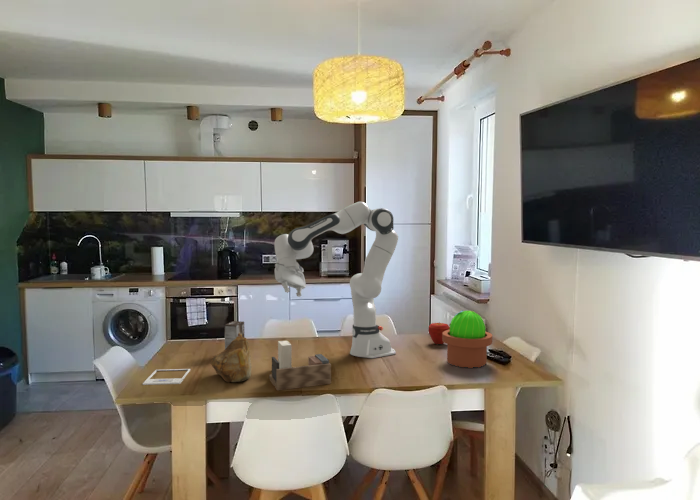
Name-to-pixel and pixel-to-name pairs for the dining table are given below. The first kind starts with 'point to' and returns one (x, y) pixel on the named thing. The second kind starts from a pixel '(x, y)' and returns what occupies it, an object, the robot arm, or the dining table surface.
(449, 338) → the potted cactus
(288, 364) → the white rectangular block
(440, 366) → the dining table surface
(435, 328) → the apple
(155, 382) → the photo frame
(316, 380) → the shelf
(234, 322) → the coffee box
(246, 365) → the rough brown rock
